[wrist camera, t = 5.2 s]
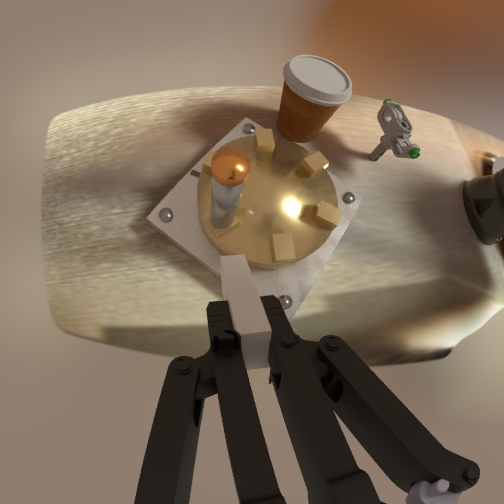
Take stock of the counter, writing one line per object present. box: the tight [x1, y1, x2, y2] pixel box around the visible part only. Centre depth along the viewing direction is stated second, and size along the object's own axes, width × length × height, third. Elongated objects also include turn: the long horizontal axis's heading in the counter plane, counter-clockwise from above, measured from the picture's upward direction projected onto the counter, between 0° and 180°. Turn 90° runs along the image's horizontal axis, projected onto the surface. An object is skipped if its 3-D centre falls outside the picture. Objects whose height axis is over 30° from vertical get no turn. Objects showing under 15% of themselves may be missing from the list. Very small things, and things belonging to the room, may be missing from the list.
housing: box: [146, 117, 363, 322], centre depth 34 cm, size 20×20×3 cm
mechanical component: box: [369, 99, 420, 160], centre depth 37 cm, size 3×10×10 cm, turn 10°
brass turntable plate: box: [197, 128, 342, 270], centre depth 26 cm, size 16×16×14 cm
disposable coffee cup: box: [277, 55, 352, 142], centre depth 34 cm, size 10×10×12 cm
